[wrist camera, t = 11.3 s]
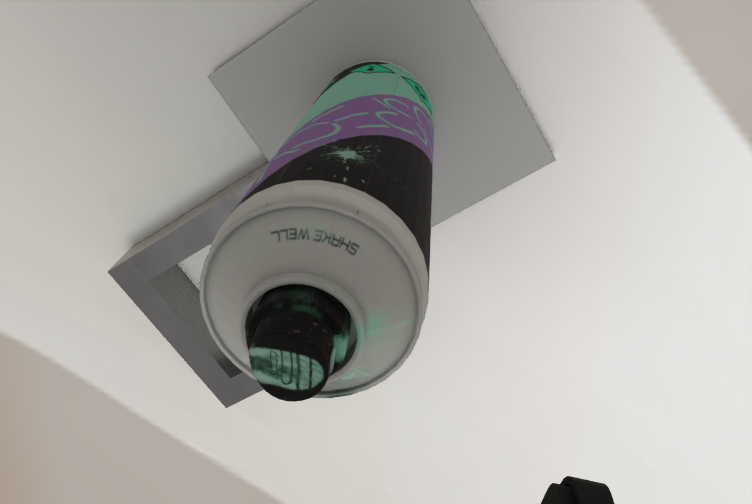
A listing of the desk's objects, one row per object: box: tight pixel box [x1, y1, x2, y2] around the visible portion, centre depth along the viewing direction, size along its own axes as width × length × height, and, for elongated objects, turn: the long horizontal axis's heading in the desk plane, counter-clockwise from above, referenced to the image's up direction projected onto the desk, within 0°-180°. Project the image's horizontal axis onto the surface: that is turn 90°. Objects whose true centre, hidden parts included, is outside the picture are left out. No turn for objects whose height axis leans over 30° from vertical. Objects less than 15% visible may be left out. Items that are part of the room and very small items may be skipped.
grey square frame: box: [108, 162, 269, 408], centre depth 35 cm, size 10×10×3 cm
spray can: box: [200, 60, 434, 401], centre depth 22 cm, size 6×6×20 cm
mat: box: [208, 0, 556, 227], centre depth 31 cm, size 12×12×1 cm
